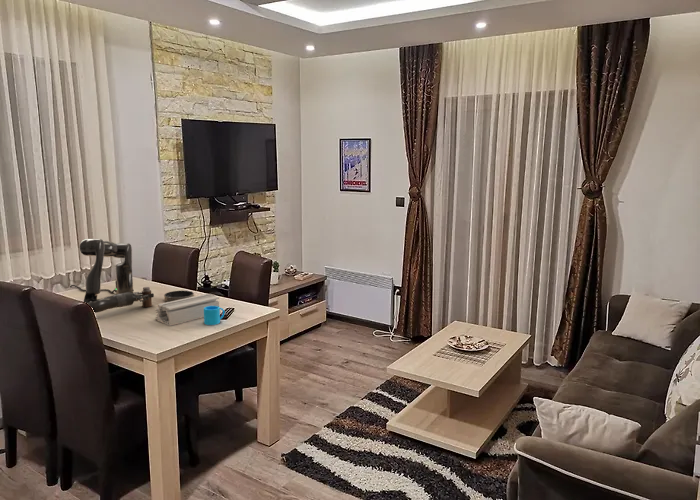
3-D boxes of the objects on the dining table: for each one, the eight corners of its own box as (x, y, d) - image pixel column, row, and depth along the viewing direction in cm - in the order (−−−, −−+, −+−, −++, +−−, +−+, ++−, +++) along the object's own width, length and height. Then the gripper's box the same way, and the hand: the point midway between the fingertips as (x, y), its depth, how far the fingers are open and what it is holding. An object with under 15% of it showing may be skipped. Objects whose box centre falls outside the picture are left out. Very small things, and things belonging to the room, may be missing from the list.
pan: (158, 301, 305) (157, 295, 304) (178, 294, 320) (177, 289, 320) (180, 304, 298) (180, 299, 298) (199, 298, 314) (199, 292, 313)
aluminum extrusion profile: (155, 319, 270) (154, 301, 268) (204, 308, 293) (204, 291, 291) (170, 325, 261) (169, 307, 259) (219, 313, 284) (218, 296, 282)
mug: (209, 326, 261) (209, 311, 260) (201, 322, 267) (200, 307, 265) (229, 321, 270) (228, 306, 269) (220, 317, 276) (219, 303, 274)
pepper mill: (140, 306, 292) (139, 288, 290) (147, 304, 297) (146, 286, 295) (147, 307, 290) (146, 289, 288) (153, 305, 295) (153, 287, 293)
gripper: (129, 295, 276) (157, 290, 289) (116, 291, 285) (144, 285, 298) (129, 308, 278) (157, 302, 291) (116, 303, 286) (144, 298, 299)
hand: (150, 294), depth 294 cm, fingers closed on pepper mill, 5 cm apart
